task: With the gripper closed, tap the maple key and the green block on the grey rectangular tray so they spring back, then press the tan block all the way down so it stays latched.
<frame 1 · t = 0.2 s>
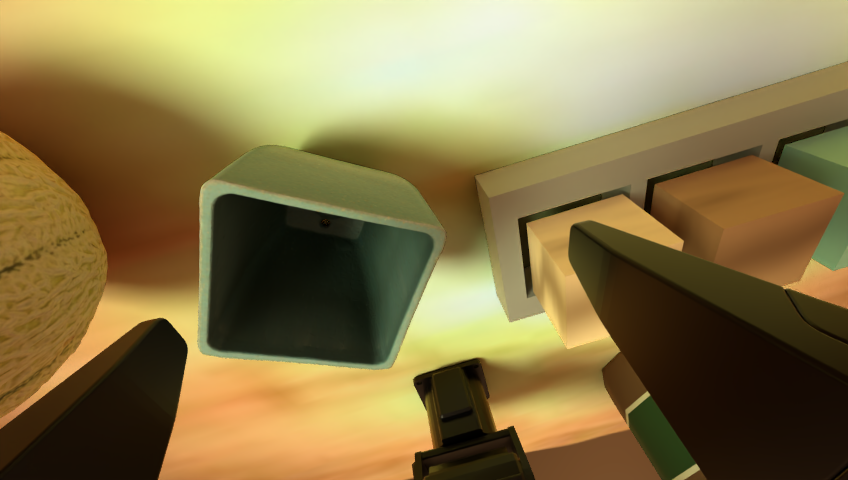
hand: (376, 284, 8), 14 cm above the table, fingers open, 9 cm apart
flower pot: (330, 195, 22), on the table
grey rectangular tray: (661, 189, 26), on the table
tan block: (726, 231, 21), point 5 cm above the table, slide at 0.0 cm
maple key: (595, 270, 21), point 5 cm above the table, slide at 0.0 cm
beer bottle: (631, 363, 39), on the table
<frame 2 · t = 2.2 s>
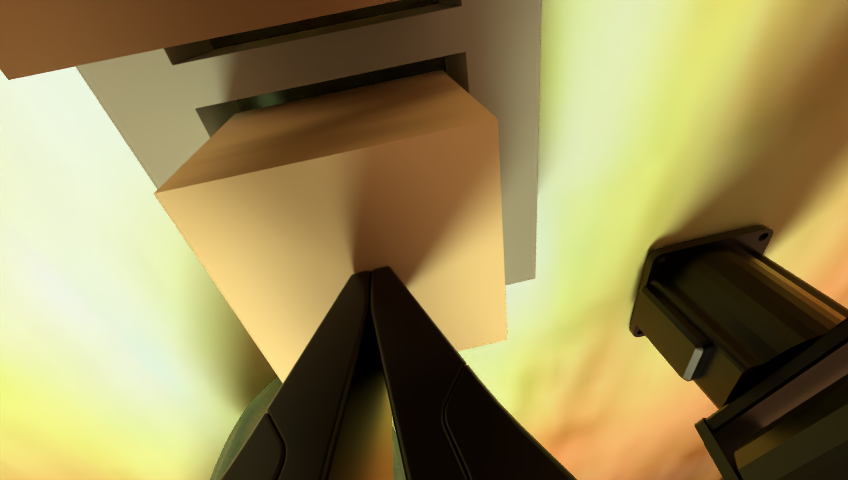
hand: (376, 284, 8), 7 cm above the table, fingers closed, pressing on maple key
flower pot: (310, 400, 22), on the table
maple key: (368, 224, 10), point 4 cm above the table, slide at 1.0 cm, touching gripper
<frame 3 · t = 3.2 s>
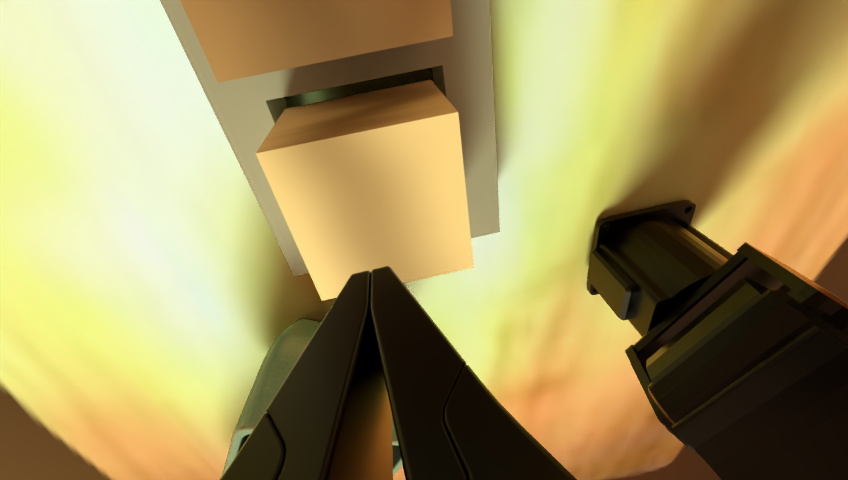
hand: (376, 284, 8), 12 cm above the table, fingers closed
flower pot: (324, 344, 26), on the table
maple key: (377, 186, 14), point 5 cm above the table, slide at 0.4 cm
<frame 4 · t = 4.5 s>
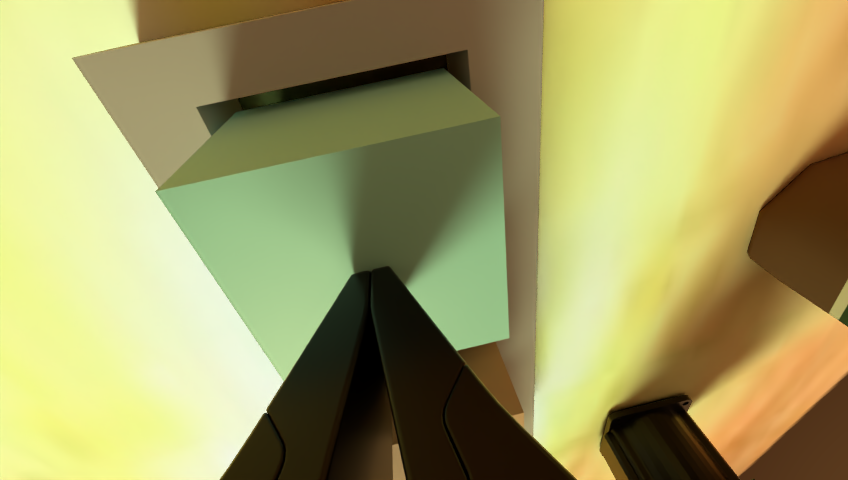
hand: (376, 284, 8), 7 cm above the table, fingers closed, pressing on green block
grey rectangular tray: (406, 307, 18), on the table
green block: (369, 222, 10), point 4 cm above the table, slide at 1.0 cm, touching gripper
tan block: (423, 410, 14), point 6 cm above the table, slide at 0.0 cm
beer bottle: (811, 210, 19), on the table
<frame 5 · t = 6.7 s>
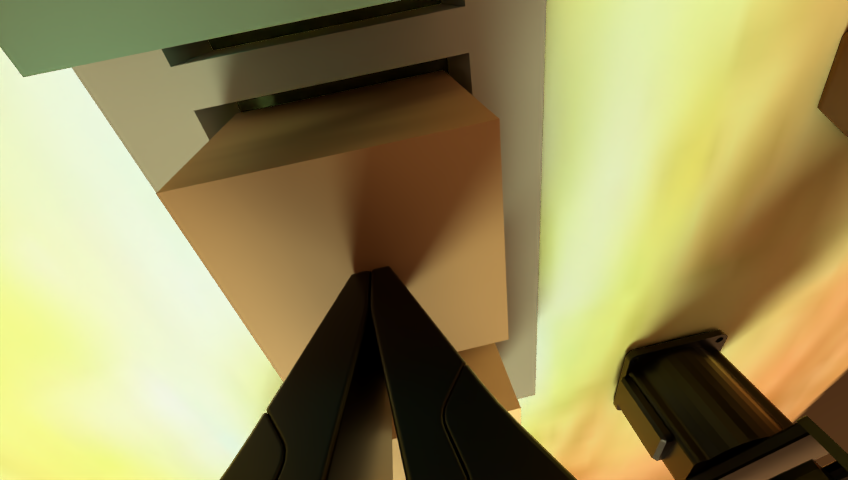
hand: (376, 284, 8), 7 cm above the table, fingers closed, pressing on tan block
grey rectangular tray: (366, 164, 13), on the table
tan block: (369, 224, 10), point 4 cm above the table, slide at 1.2 cm, touching gripper
maple key: (422, 406, 14), point 5 cm above the table, slide at 0.4 cm
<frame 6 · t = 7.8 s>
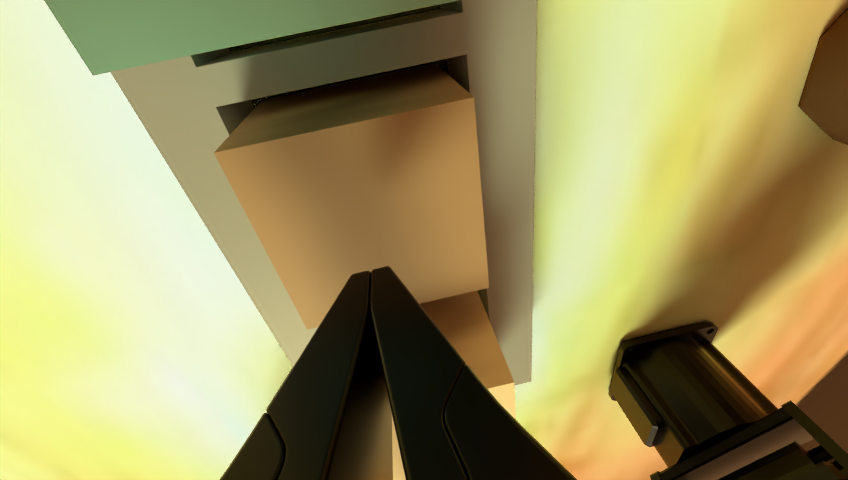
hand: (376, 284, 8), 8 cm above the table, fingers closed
grey rectangular tray: (370, 158, 14), on the table
tan block: (373, 191, 12), point 3 cm above the table, slide at 2.6 cm
maple key: (423, 387, 15), point 5 cm above the table, slide at 0.4 cm
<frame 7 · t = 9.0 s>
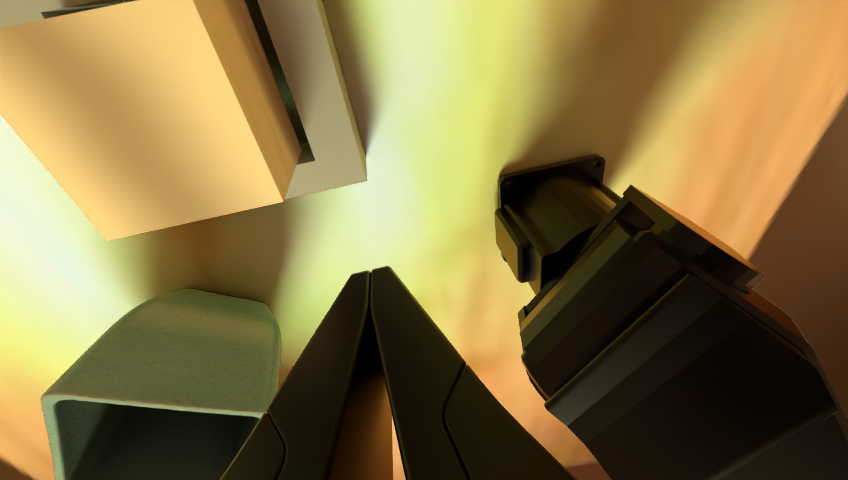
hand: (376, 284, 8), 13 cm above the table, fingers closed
flower pot: (221, 317, 25), on the table
maple key: (176, 112, 12), point 5 cm above the table, slide at 0.4 cm
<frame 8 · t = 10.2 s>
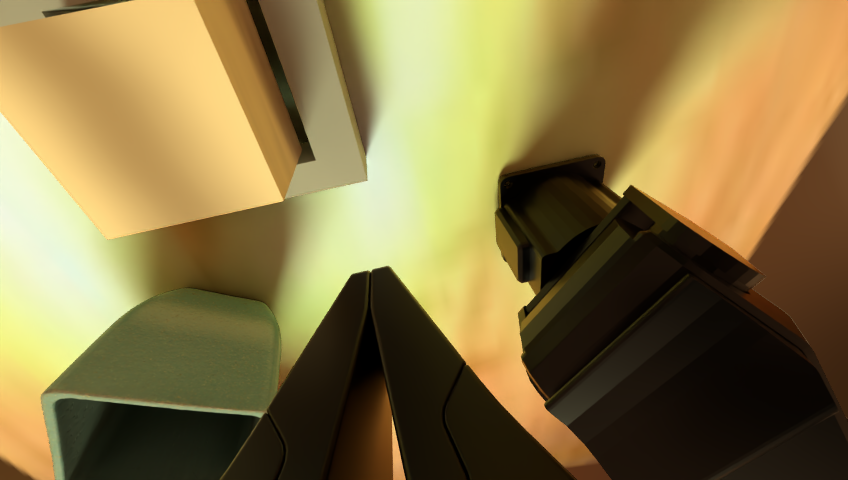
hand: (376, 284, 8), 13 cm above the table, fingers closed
flower pot: (221, 317, 25), on the table
maple key: (177, 111, 12), point 5 cm above the table, slide at 0.4 cm
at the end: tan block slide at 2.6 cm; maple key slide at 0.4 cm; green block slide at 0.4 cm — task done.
